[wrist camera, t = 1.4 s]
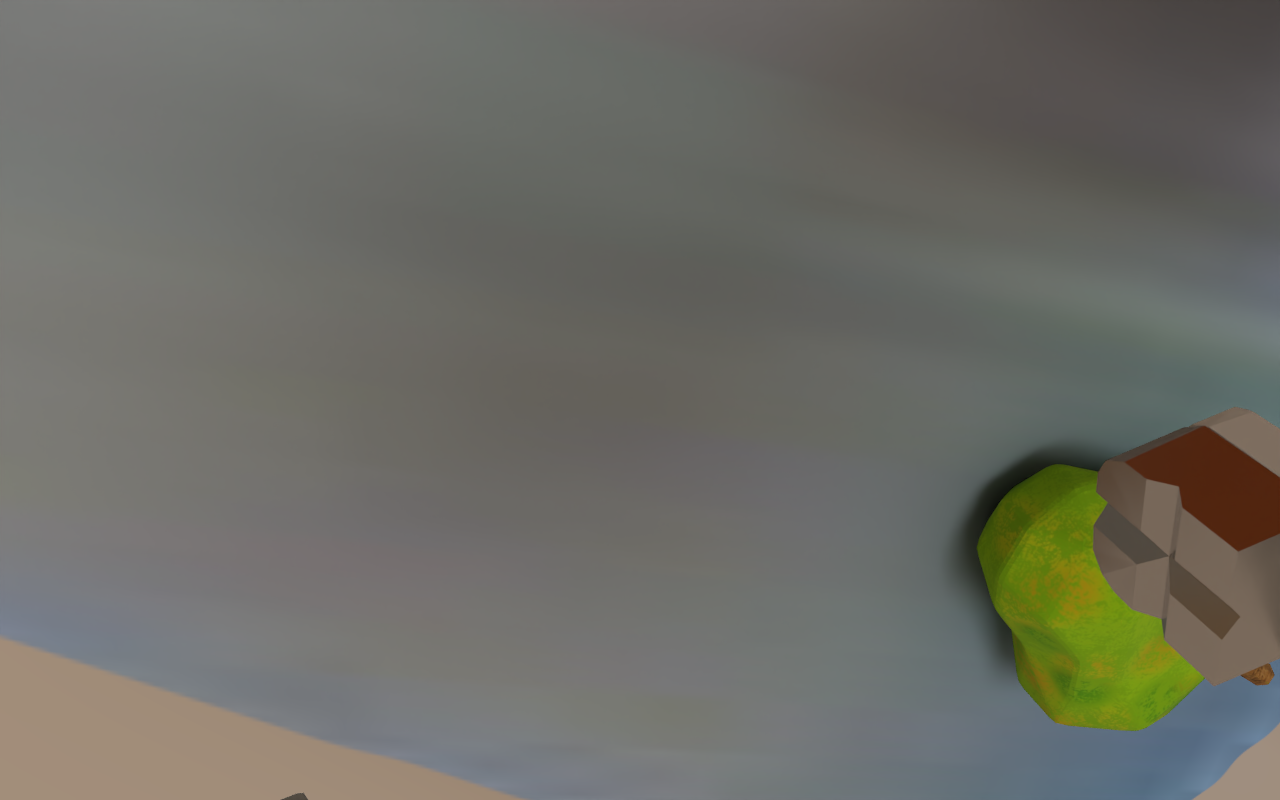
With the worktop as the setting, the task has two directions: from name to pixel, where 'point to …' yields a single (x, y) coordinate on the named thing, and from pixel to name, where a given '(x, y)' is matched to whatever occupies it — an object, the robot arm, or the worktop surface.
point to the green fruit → (1077, 611)
